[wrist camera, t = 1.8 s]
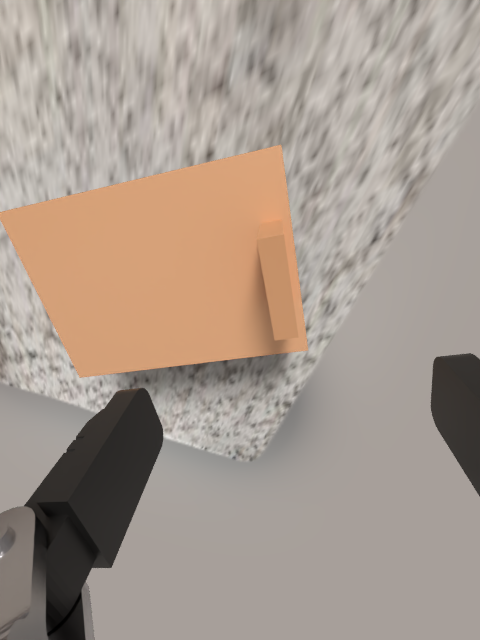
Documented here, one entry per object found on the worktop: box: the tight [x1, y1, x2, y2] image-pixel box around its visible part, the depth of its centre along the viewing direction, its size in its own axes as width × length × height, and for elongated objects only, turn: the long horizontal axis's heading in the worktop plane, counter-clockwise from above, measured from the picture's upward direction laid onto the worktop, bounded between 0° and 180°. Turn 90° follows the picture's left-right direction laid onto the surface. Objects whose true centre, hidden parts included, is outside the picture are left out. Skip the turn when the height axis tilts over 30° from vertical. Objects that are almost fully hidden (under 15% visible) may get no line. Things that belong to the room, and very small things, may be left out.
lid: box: [0, 145, 308, 378], centre depth 22 cm, size 21×15×7 cm
